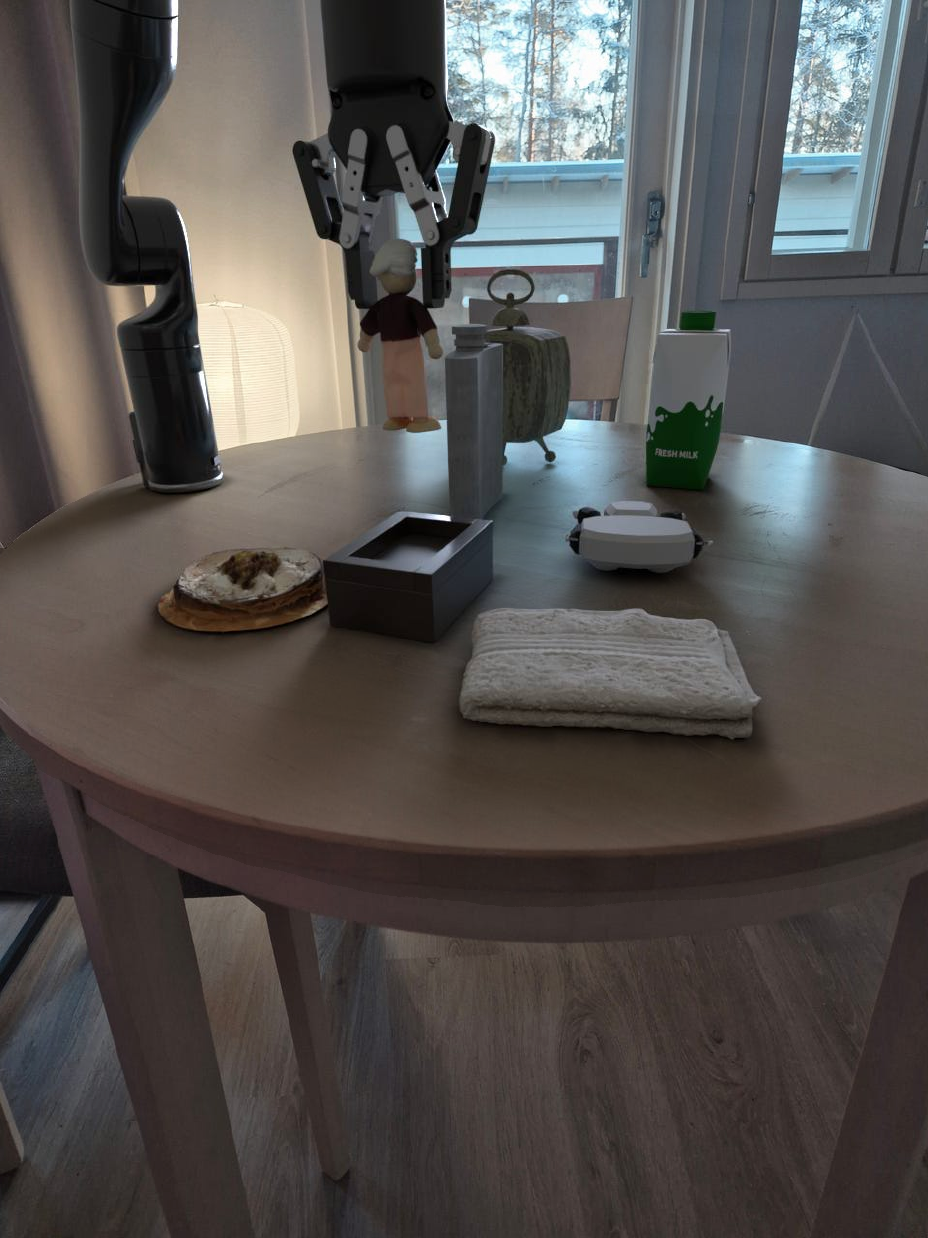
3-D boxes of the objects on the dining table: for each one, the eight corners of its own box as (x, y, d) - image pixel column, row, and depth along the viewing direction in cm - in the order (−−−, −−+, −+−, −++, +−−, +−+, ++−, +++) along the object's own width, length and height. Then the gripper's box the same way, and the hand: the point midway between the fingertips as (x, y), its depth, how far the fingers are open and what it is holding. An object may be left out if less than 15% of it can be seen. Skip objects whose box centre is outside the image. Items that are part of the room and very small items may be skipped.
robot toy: (567, 537, 76) (563, 582, 62) (569, 495, 74) (565, 531, 61) (686, 541, 74) (709, 588, 60) (691, 497, 72) (716, 536, 59)
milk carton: (716, 475, 94) (738, 310, 86) (710, 493, 87) (734, 314, 78) (648, 470, 97) (663, 310, 89) (637, 487, 90) (652, 314, 81)
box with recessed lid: (329, 625, 56) (322, 560, 54) (402, 567, 67) (399, 510, 65) (434, 643, 53) (431, 574, 51) (493, 579, 64) (493, 520, 61)
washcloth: (765, 745, 41) (774, 699, 40) (454, 731, 43) (453, 687, 41) (721, 647, 52) (727, 608, 50) (473, 639, 53) (472, 601, 52)
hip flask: (476, 537, 74) (473, 329, 65) (438, 535, 75) (430, 329, 66) (504, 495, 88) (505, 318, 79) (472, 493, 89) (469, 319, 80)
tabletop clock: (567, 461, 103) (575, 267, 92) (538, 476, 96) (543, 268, 85) (481, 451, 110) (479, 269, 99) (448, 463, 103) (442, 270, 92)
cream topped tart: (210, 560, 69) (203, 519, 68) (359, 566, 67) (356, 524, 65) (123, 628, 56) (111, 579, 54) (305, 638, 54) (299, 587, 52)
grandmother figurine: (462, 426, 54) (457, 236, 49) (439, 436, 51) (431, 234, 46) (375, 420, 57) (361, 241, 52) (349, 429, 54) (331, 239, 49)
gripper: (515, 0, 44) (512, 305, 51) (314, 32, 49) (338, 306, 56) (471, -44, 37) (475, 311, 45) (246, -3, 42) (283, 311, 50)
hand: (399, 306), depth 50 cm, fingers closed on grandmother figurine, 4 cm apart
